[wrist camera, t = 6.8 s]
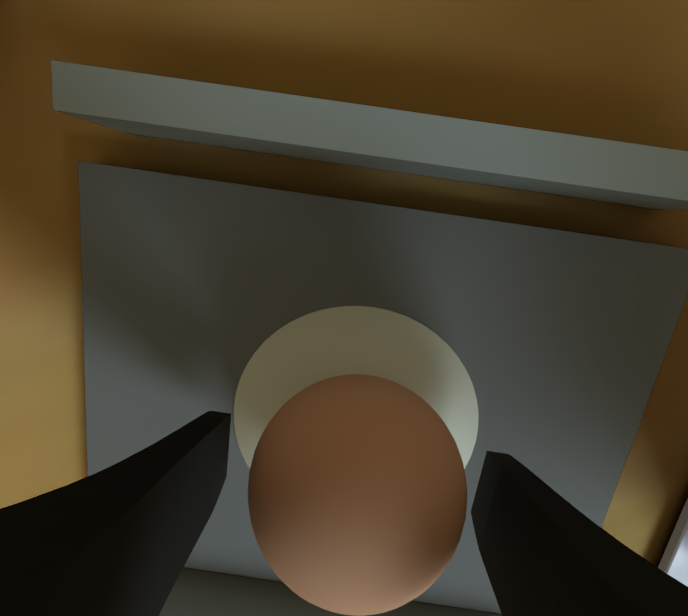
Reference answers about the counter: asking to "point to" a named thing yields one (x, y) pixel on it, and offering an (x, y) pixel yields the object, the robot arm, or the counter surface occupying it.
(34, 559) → the robot arm
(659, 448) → the counter surface
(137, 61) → the counter surface
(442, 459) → the ball
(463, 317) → the mat
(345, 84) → the counter surface
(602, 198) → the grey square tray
